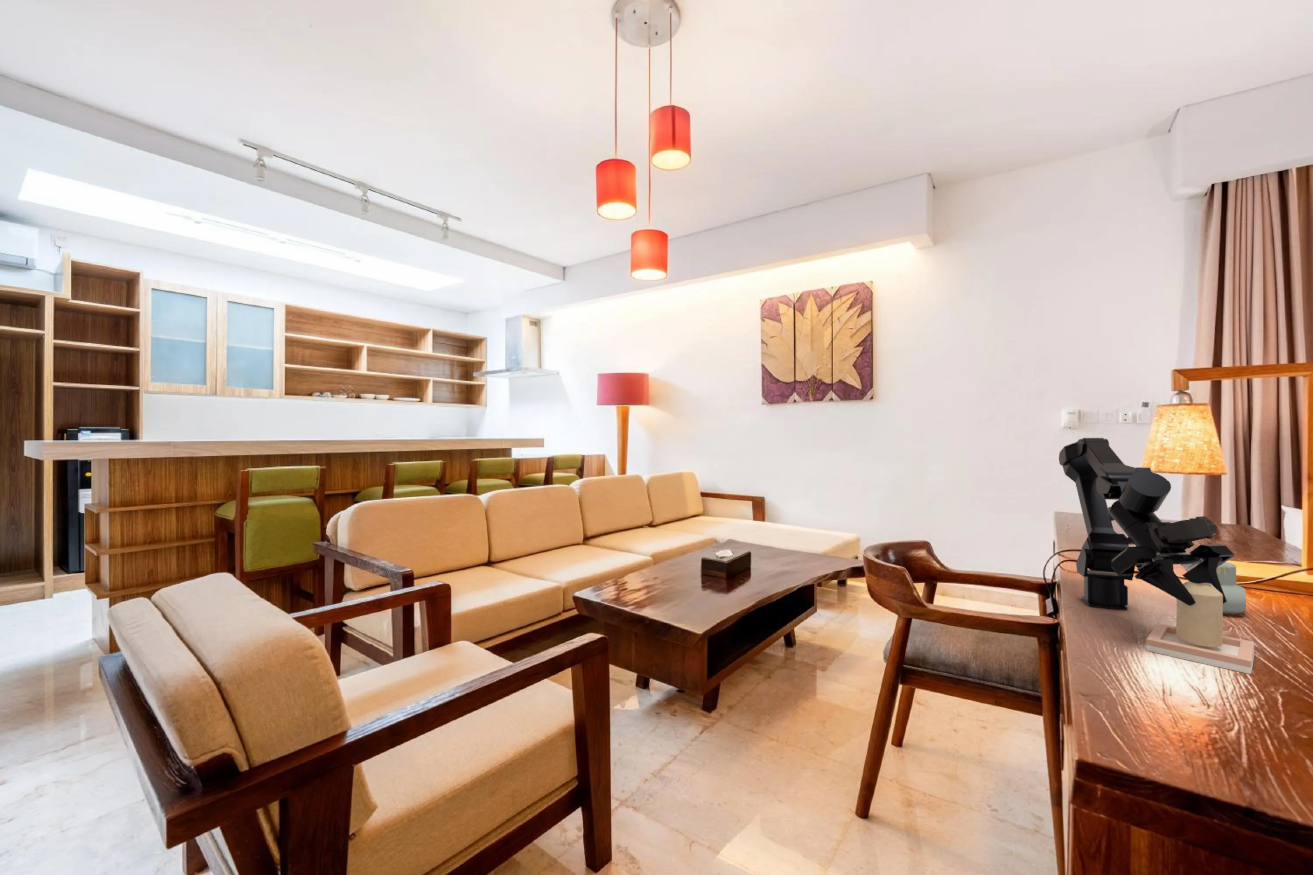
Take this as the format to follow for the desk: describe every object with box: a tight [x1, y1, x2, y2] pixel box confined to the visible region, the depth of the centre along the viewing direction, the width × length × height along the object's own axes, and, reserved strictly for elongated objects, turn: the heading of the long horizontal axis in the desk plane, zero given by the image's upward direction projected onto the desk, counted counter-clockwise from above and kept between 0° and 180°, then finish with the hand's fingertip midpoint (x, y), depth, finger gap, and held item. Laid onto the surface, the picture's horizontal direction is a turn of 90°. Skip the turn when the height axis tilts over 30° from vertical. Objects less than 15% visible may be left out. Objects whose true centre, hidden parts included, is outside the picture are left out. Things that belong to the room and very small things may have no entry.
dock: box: [1145, 622, 1255, 675], centre depth 90 cm, size 12×12×2 cm
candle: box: [1176, 580, 1224, 647], centre depth 91 cm, size 6×6×10 cm
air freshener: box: [1187, 561, 1247, 615], centre depth 112 cm, size 11×8×10 cm
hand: (1208, 603), depth 89 cm, fingers closed on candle, 5 cm apart
